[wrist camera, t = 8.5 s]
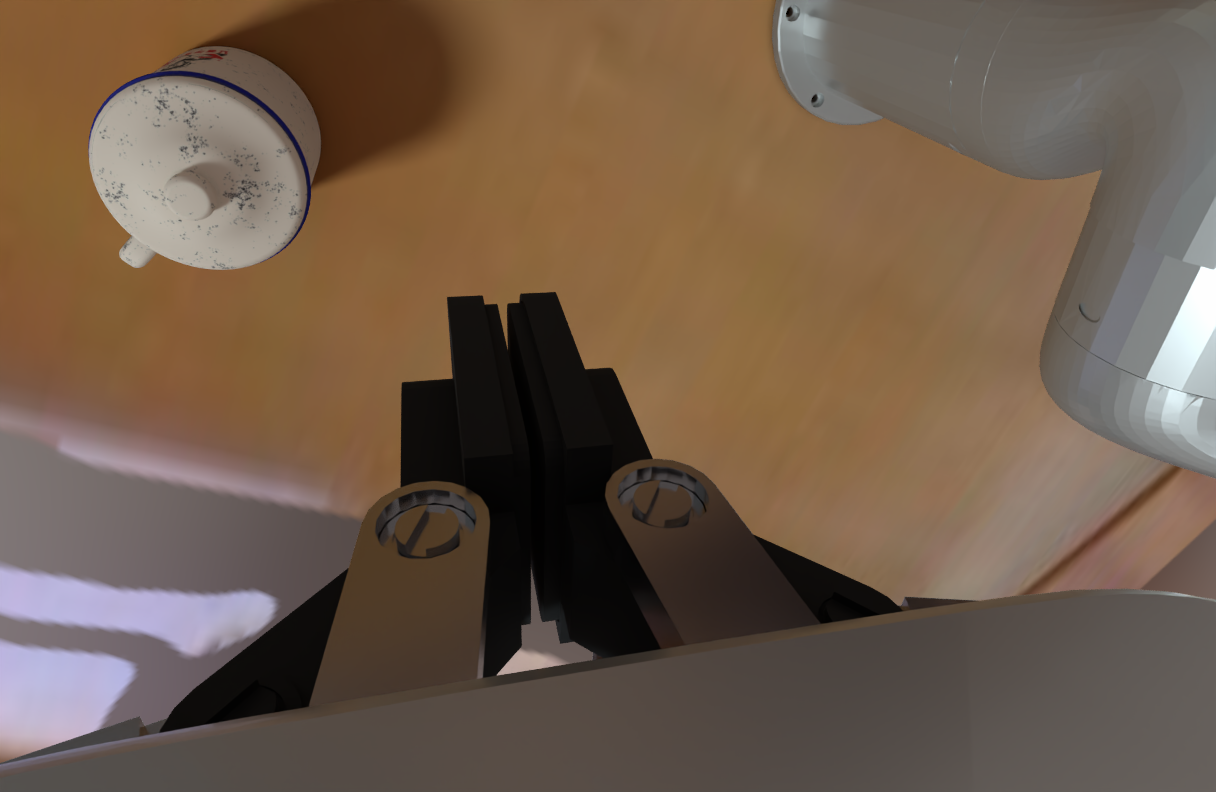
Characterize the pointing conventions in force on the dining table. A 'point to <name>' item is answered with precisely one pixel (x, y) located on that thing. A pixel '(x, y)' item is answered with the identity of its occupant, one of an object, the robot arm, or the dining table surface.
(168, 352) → the dining table surface
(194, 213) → the teacup with lid
